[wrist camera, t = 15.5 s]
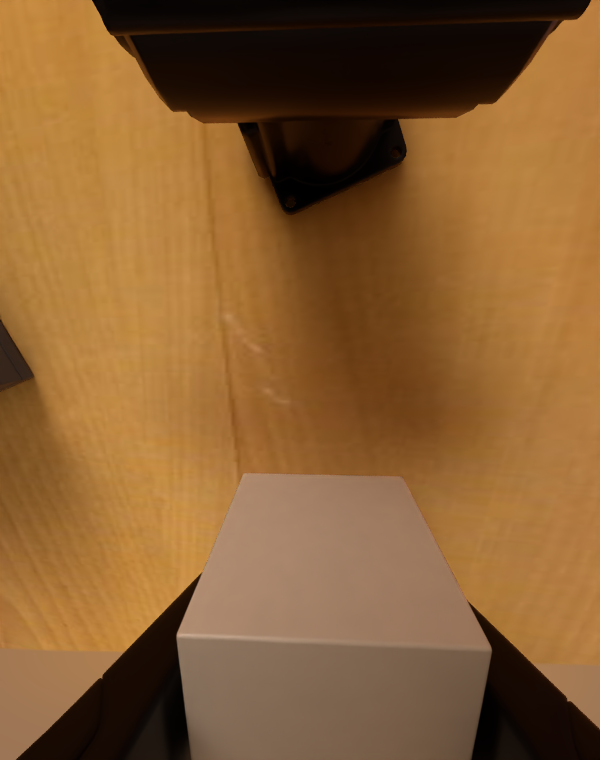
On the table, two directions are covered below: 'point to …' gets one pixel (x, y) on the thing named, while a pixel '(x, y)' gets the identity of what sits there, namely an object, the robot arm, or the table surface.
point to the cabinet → (11, 363)
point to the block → (329, 629)
